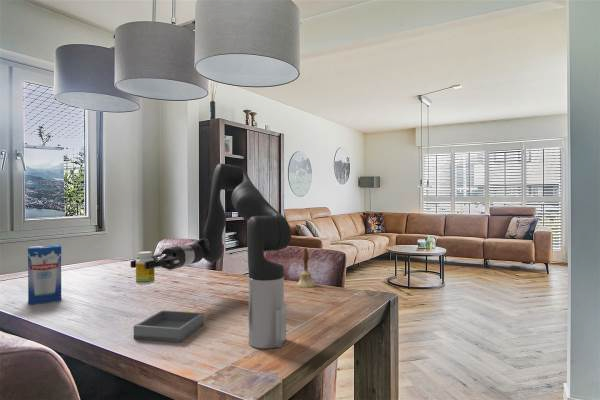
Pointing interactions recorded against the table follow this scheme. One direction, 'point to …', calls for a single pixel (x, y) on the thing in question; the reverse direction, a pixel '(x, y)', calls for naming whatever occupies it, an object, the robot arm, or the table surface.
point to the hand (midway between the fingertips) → (138, 265)
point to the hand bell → (305, 273)
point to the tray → (168, 326)
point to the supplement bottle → (144, 274)
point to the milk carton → (44, 274)
